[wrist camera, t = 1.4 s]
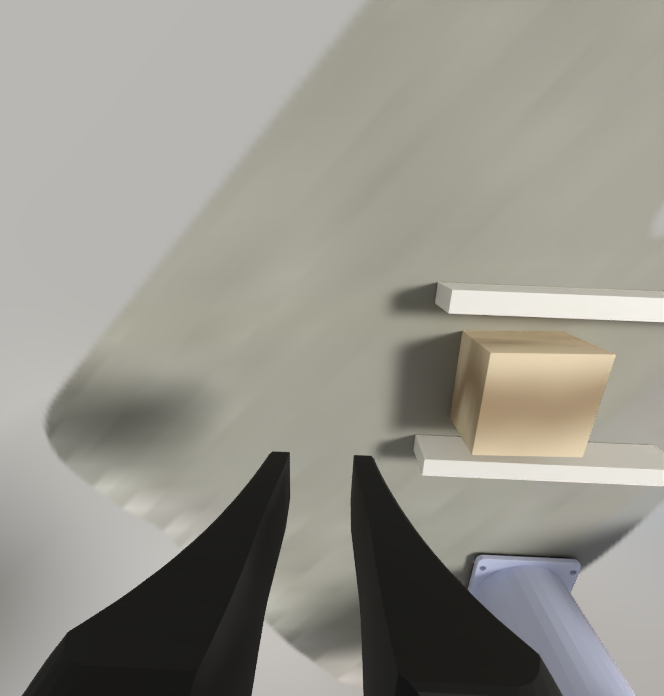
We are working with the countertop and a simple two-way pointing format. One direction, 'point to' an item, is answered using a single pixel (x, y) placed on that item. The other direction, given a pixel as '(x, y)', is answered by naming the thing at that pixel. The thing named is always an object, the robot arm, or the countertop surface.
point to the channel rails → (599, 458)
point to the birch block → (528, 392)
